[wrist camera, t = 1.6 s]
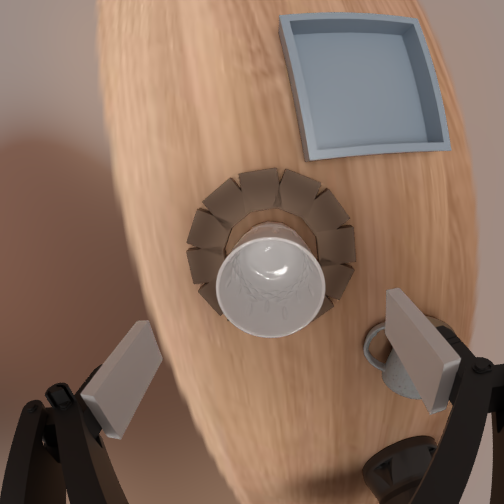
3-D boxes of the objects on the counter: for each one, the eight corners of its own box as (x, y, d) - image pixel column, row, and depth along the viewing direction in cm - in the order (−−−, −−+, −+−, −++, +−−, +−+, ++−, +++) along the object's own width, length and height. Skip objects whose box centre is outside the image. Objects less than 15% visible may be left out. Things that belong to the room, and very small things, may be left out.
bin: (432, 151, 26) (451, 150, 22) (304, 161, 28) (309, 160, 24) (403, 32, 22) (417, 18, 19) (278, 32, 24) (279, 15, 20)
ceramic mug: (442, 312, 31) (471, 342, 24) (421, 365, 33) (442, 400, 26) (371, 306, 32) (392, 341, 24) (353, 363, 34) (366, 404, 27)
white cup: (314, 219, 29) (333, 243, 20) (304, 291, 31) (315, 342, 22) (236, 211, 30) (218, 232, 20) (231, 284, 32) (214, 332, 22)
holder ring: (355, 313, 32) (358, 318, 31) (209, 332, 34) (207, 338, 32) (342, 159, 27) (345, 159, 26) (176, 186, 29) (172, 186, 28)
